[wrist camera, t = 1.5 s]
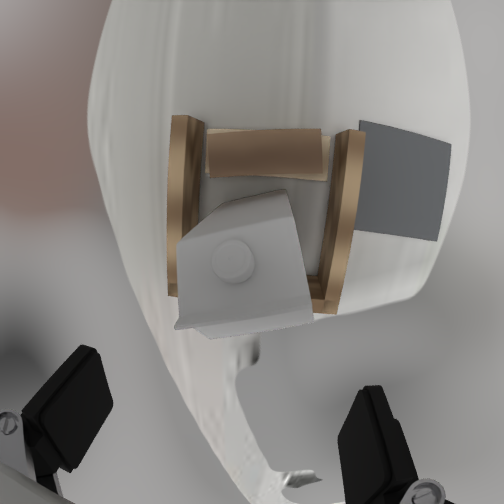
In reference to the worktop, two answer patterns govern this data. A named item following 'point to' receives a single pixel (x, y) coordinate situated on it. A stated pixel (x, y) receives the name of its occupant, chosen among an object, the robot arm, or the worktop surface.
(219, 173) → the offcut upper
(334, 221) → the rack
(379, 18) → the worktop surface
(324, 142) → the offcut lower
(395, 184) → the mat
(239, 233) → the milk carton
